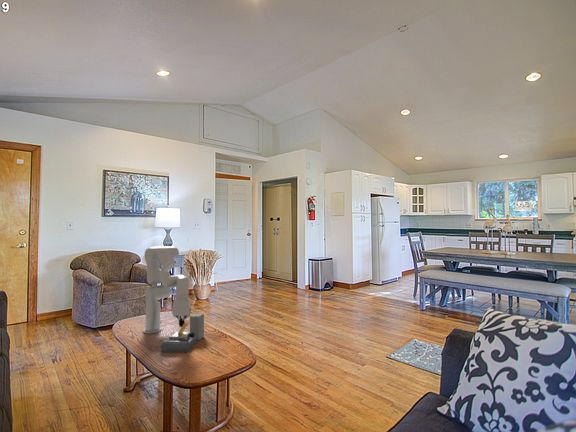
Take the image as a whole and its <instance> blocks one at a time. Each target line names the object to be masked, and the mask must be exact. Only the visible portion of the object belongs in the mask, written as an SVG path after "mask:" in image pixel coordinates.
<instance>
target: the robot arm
mask: <svg viewBox="0 0 576 432" xmlns="http://www.w3.org/2000/svg"><path fill="white" fill-rule="evenodd" d="M179 255H180V252H179V249H178V248H177V246H152V247H148V248H146V249H145V250H144V255H143V256H144V261H145V264H146V281H147V283H148V284H149V285H151V286H149V287H146V289H145V290H144V296H145V322H144V323H145V325H144V326H145V327H144V328H143V329H142V333H143V334H157V333H159V332H161V331H162V330H163V327H162V326H161V324H162V320H161V303H160V302H159V301H158V300H159V299H160V300H161V299H165V298H168V297H170V296H171V293H172V289H173V288H175V294H174V295H173V297H174V300H173V306H172V316H173V318H176V319H177V320H178V325H179V328H181V327H182V326H183V324H184V323H185V322H186V319H187V318H190V316H192V315H191V308H192V306H191V299H190V296H189V292H190V291H189V288H190V284H189V283H190V281H189V280H190V278H189V277H188V276H186V275H184V274H175V275H171V273H170V271H171V270H172V269H173V268H174V267H175V266H176V261H175V259H177V258H178V257H179ZM157 259H158V260H157ZM160 264H161V265H160ZM160 266H161V268H160ZM157 284H160V285H157ZM152 285H153V286H152Z"/></svg>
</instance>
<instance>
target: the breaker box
mask: <svg viewBox="0 0 576 432" xmlns="http://www.w3.org/2000/svg"><path fill="white" fill-rule="evenodd" d="M178 332H179V331H172V332H171V333H170V335H169V336H168V337H167V338H163V340H162V341H161V343H160V353H175V354H176V353H177V354H178V353H179V354H183V353H184V354H188V353H189V352H190V351H191V349H192V348H193V347H194V345H196V343H197V341H196V333H192V332H190V331H183V333H182V334H181V335H178Z"/></svg>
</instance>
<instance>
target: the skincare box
mask: <svg viewBox="0 0 576 432" xmlns="http://www.w3.org/2000/svg"><path fill="white" fill-rule="evenodd" d="M189 332H192V333H196V342H197V341H198V342H199V341H200V340H201V339H203V338H205V337H204V336H205V314H204V313H194V314H192V315H191V316H190V317H189Z"/></svg>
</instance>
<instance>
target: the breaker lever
mask: <svg viewBox="0 0 576 432" xmlns="http://www.w3.org/2000/svg"><path fill="white" fill-rule="evenodd" d="M189 324H190V320H185V323H184V324H183V326H182V327H180V329H179V331H177V332H178V335H181V334H182V333H183V332H185V329H186V327H187V326H188V325H189Z"/></svg>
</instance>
